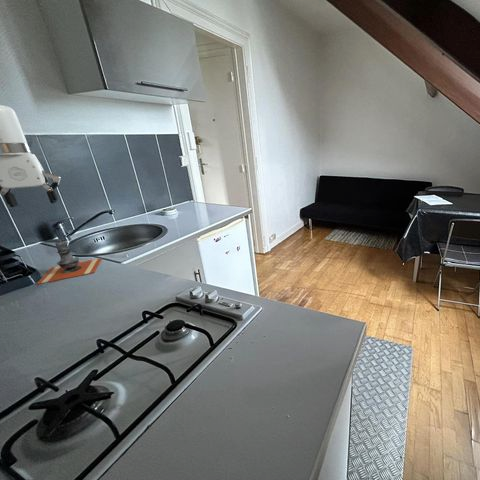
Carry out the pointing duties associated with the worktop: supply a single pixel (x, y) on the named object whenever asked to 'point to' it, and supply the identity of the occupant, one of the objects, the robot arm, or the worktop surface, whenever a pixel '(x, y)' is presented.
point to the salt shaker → (66, 258)
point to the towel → (57, 274)
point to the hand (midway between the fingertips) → (34, 204)
